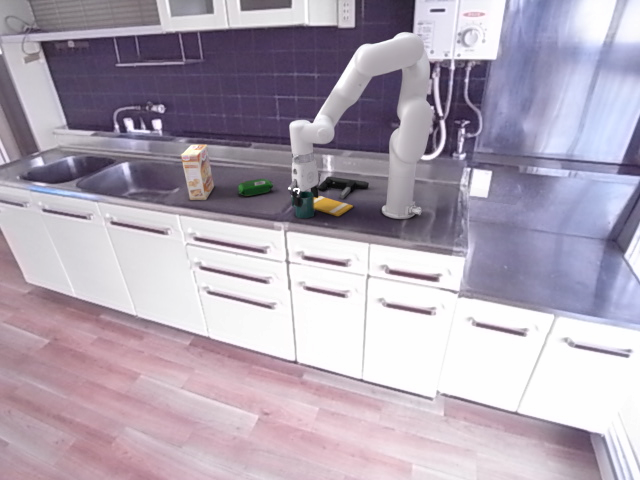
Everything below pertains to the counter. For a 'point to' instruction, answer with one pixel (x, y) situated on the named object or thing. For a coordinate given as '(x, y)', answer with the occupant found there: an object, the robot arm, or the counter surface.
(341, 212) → the towel
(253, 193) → the snack package
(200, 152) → the coffeecake box
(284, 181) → the counter surface
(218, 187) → the counter surface
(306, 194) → the teal mug
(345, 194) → the black toy gun
